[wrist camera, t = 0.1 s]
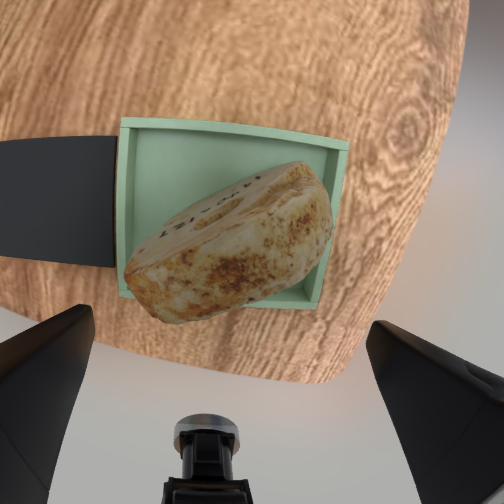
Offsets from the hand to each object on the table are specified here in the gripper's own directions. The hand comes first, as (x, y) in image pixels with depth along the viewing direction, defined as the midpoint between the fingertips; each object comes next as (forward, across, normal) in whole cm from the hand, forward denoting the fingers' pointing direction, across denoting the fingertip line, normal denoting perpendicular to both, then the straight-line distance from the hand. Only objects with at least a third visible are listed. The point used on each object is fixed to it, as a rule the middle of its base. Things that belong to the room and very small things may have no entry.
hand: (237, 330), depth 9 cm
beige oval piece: (+12, 0, -1) cm, 12 cm away
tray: (+12, 0, -1) cm, 12 cm away
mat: (+12, +14, -1) cm, 18 cm away
